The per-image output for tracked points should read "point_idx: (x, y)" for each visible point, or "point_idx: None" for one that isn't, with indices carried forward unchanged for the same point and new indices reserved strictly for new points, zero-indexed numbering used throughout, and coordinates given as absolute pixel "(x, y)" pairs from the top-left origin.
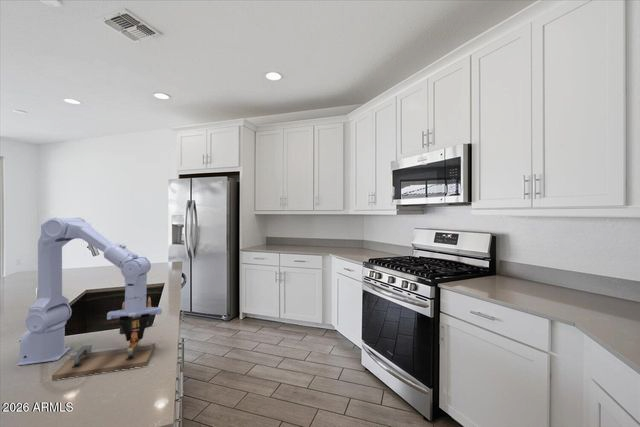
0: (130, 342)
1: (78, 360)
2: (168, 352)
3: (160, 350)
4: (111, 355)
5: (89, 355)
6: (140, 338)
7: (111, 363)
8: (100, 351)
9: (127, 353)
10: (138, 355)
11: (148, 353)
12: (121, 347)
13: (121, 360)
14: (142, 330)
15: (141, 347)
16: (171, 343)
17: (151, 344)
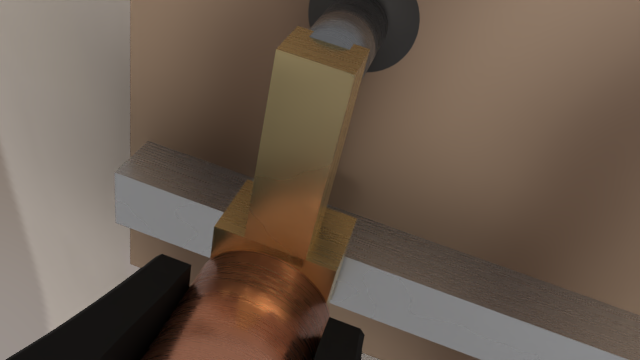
0: (318, 288)
1: None
2: (8, 40)
3: (97, 141)
4: (565, 268)
5: None
6: (160, 265)
7: (619, 16)
8: None
9: (388, 203)
10: (264, 61)
11: (153, 42)
12: (443, 324)
13: (473, 38)
14: (26, 353)
15: (225, 198)
16: (34, 222)
17: (124, 201)
